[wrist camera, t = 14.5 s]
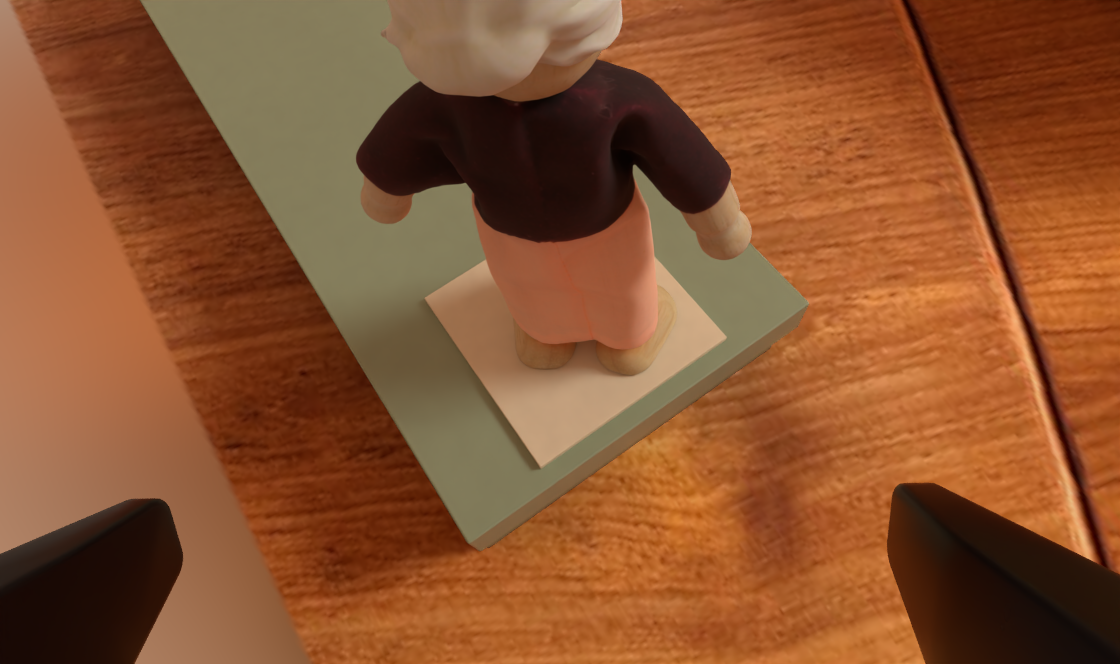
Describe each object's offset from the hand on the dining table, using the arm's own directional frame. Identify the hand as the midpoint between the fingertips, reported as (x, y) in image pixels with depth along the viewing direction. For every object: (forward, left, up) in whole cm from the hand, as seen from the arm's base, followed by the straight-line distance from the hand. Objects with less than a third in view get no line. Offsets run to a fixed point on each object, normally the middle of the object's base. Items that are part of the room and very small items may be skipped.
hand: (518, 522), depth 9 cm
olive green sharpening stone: (+8, +17, -13) cm, 23 cm away
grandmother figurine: (+5, +5, -9) cm, 11 cm away
